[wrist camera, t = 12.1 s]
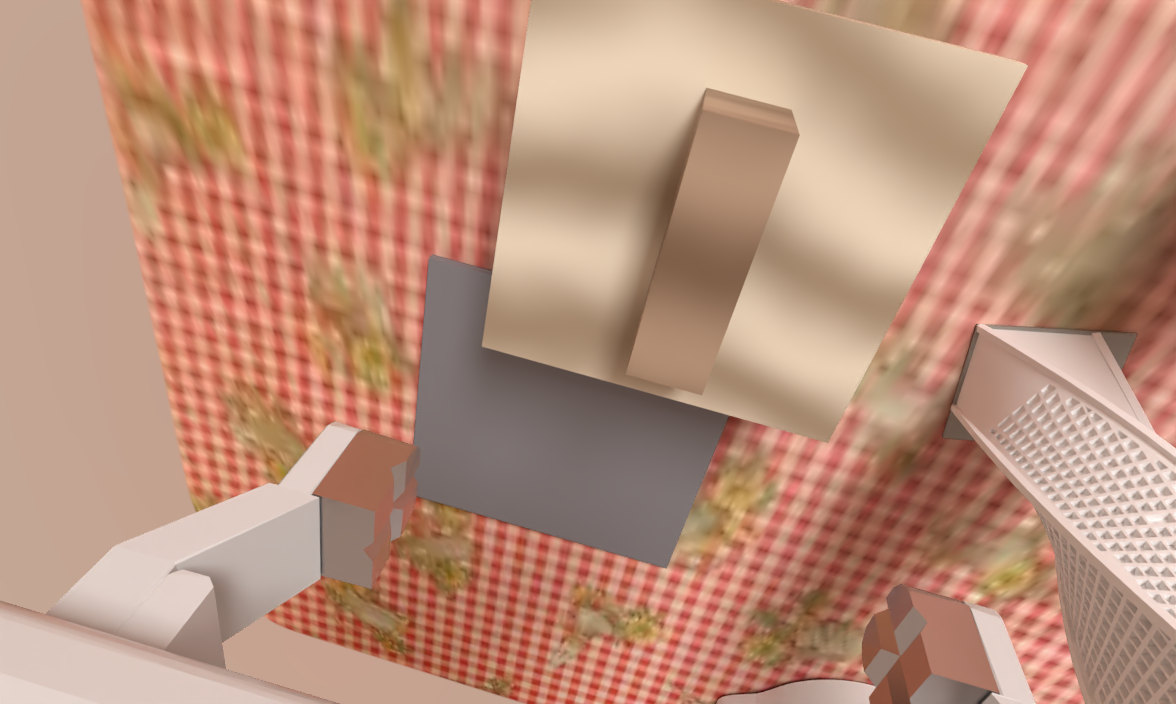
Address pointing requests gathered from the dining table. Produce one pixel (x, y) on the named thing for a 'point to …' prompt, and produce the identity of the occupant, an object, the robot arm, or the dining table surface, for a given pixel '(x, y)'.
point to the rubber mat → (549, 436)
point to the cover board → (816, 222)
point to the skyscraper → (1085, 493)
